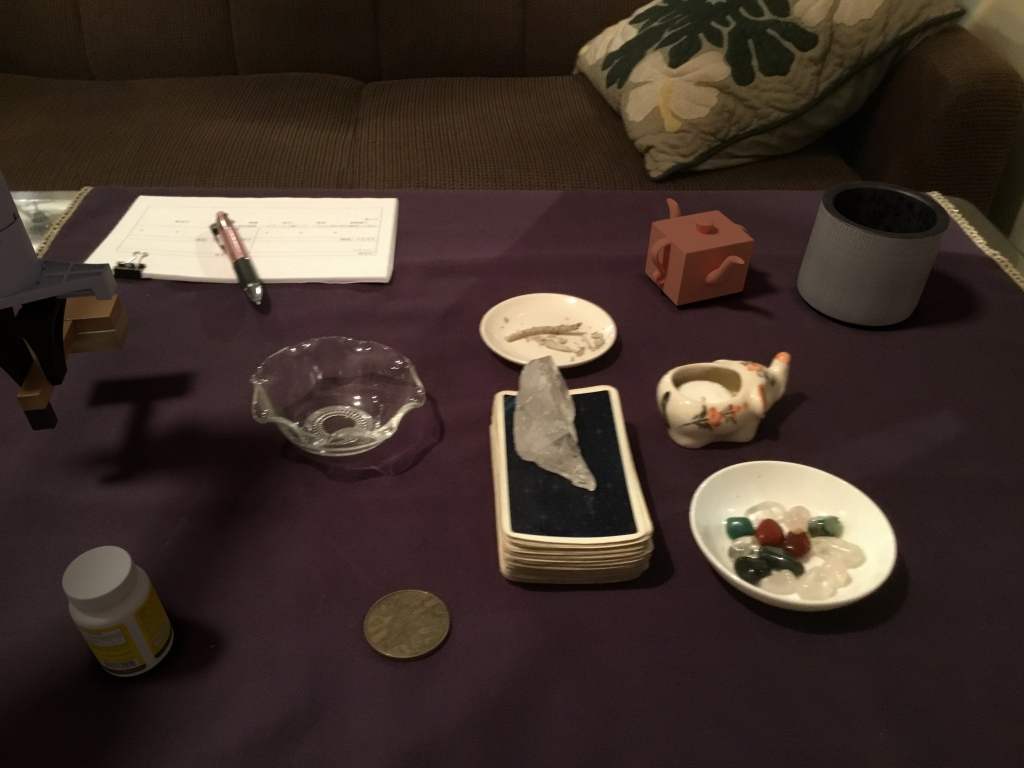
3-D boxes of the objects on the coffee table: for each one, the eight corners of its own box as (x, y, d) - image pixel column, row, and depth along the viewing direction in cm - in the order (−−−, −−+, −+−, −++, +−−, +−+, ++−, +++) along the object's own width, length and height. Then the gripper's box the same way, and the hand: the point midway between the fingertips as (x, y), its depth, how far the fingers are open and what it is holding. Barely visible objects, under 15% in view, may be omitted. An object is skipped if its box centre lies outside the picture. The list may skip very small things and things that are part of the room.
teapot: (680, 334, 82) (693, 265, 76) (614, 262, 92) (622, 197, 87) (775, 312, 85) (794, 244, 80) (702, 245, 96) (714, 181, 91)
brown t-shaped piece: (-10, 435, 60) (-29, 401, 58) (41, 332, 70) (27, 300, 68) (96, 424, 61) (82, 390, 59) (130, 324, 72) (119, 292, 69)
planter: (876, 346, 81) (913, 251, 74) (772, 294, 88) (797, 203, 81) (934, 302, 87) (974, 211, 80) (833, 256, 94) (861, 169, 87)
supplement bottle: (155, 604, 56) (119, 527, 51) (187, 647, 53) (153, 571, 48) (87, 646, 53) (42, 570, 48) (117, 693, 51) (73, 618, 45)
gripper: (99, 188, 57) (151, 339, 66) (-123, 201, 55) (-39, 356, 63) (75, 236, 51) (135, 394, 60) (-171, 253, 49) (-72, 414, 58)
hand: (44, 378), depth 61 cm, fingers closed on brown t-shaped piece, 2 cm apart
